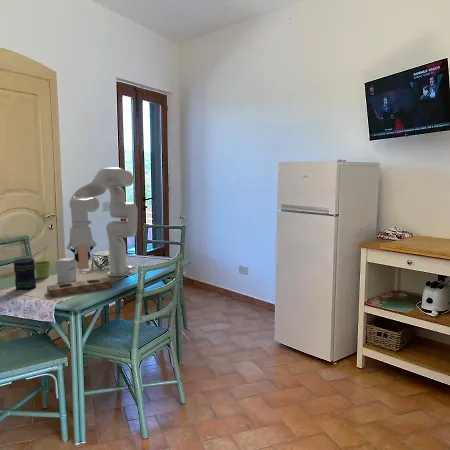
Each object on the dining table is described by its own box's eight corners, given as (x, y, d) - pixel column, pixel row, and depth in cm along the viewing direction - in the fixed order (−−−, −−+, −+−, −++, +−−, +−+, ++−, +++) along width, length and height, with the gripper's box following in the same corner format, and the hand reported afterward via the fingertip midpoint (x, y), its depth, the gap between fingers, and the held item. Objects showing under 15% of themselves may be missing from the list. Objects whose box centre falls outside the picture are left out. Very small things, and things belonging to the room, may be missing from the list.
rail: (106, 283, 224) (106, 277, 224) (111, 287, 217) (111, 281, 216) (47, 292, 209) (46, 286, 208) (50, 297, 201) (50, 290, 200)
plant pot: (30, 279, 235) (29, 264, 234) (41, 274, 244) (40, 260, 243) (44, 280, 233) (43, 264, 232) (55, 275, 242) (54, 261, 241)
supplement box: (69, 283, 225) (68, 260, 224) (57, 282, 227) (55, 260, 225) (76, 279, 232) (75, 257, 231) (65, 279, 234) (63, 257, 232)
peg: (86, 266, 208) (85, 243, 206) (88, 268, 204) (87, 244, 202) (77, 267, 206) (75, 244, 204) (79, 269, 202) (78, 245, 200)
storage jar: (16, 287, 219) (13, 259, 217) (36, 284, 223) (34, 257, 221) (15, 292, 210) (12, 263, 208) (36, 289, 214) (34, 261, 212)
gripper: (95, 221, 209) (97, 256, 212) (60, 224, 200) (63, 261, 203) (99, 223, 203) (102, 259, 205) (63, 226, 194) (66, 264, 197)
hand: (82, 260), depth 204 cm, fingers closed on peg, 4 cm apart
